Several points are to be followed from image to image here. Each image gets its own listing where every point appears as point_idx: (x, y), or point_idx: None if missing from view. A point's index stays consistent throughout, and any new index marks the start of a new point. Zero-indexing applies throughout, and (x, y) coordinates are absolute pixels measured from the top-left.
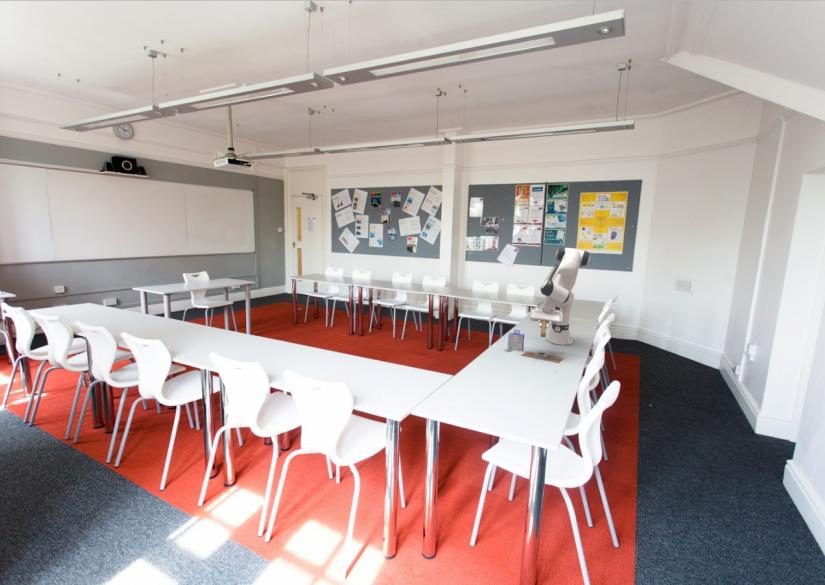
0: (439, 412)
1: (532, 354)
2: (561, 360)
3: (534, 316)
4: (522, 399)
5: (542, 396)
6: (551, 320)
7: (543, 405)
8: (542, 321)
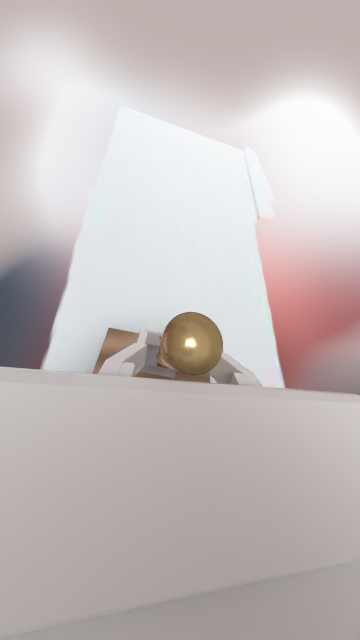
0: (223, 145)
1: (187, 375)
2: (98, 360)
3: (357, 415)
4: (161, 169)
5: (137, 178)
6: (91, 374)
7: (134, 158)
8: (206, 318)
